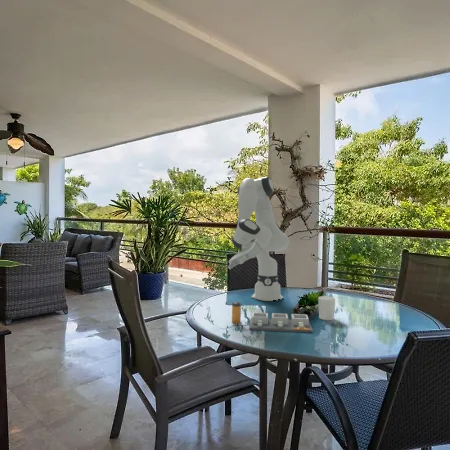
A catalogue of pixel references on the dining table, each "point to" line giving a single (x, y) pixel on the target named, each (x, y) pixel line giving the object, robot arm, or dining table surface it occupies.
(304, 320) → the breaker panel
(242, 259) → the robot arm
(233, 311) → the orange capped bottle
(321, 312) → the white cup
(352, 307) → the dining table surface
